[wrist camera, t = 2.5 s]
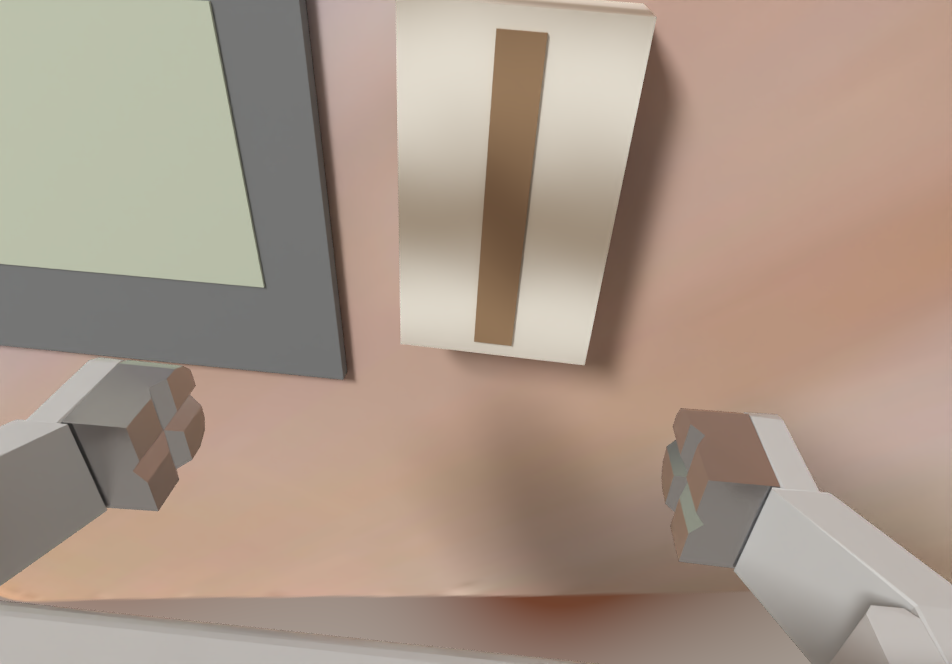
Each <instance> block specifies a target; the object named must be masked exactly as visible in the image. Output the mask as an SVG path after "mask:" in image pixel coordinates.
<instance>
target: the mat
mask: <svg viewBox="0 0 952 664" xmlns="http://www.w3.org/2000/svg"><path fill="white" fill-rule="evenodd" d="M0 345H3V346H13V347H23V348H33V349H43V350H53V351H63V352H73V353H83V354H93V355H103V356H113V357H123V358H133V359H142V360H152V361H162V362H172V363H182V364H192V365H202V366H212V367H222V368H232V369H242V370H252V371H262V372H272V373H282V374H291V375H301V376H311V377H321V378H331V379H341V380H344V378H345V375H346V373H347V366H346V357H345V348H344V339H343V331H342V322H341V313H340V304H339V295H338V286H337V277H336V268H335V259H334V250H333V241H332V232H331V223H330V214H329V205H328V196H327V187H326V178H325V169H324V161H323V152H322V143H321V134H320V125H319V116H318V107H317V98H316V89H315V80H314V71H313V62H312V53H311V44H310V35H309V26H308V17H307V8H306V0H0Z"/></svg>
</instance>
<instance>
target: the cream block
mask: <svg viewBox="0 0 952 664" xmlns="http://www.w3.org/2000/svg"><path fill="white" fill-rule="evenodd" d="M656 18H657V17H656V16H655V15H654V14H653V13H652V12H651V11H650V10H649V9H648V8H647V7H646V6H645V5H644V4H642V3H629V2H617V1H604V0H396V64H397V132H398V200H399V268H400V335H401V344H406V345H415V346H423V347H432V348H440V349H449V350H458V351H466V352H475V353H483V354H492V355H500V356H509V357H517V358H526V359H535V360H543V361H552V362H560V363H569V364H577V365H585V361H586V356H587V351H588V347H589V342H590V337H591V332H592V327H593V322H594V318H595V313H596V308H597V303H598V298H599V293H600V289H601V284H602V279H603V274H604V269H605V264H606V260H607V255H608V250H609V245H610V240H611V235H612V231H613V226H614V221H615V216H616V211H617V206H618V202H619V197H620V192H621V187H622V182H623V177H624V173H625V168H626V163H627V158H628V153H629V148H630V144H631V139H632V134H633V129H634V124H635V119H636V115H637V110H638V105H639V100H640V95H641V90H642V86H643V81H644V76H645V71H646V66H647V61H648V57H649V52H650V47H651V42H652V37H653V32H654V28H655V23H656Z"/></svg>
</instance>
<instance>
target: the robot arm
mask: <svg viewBox="0 0 952 664" xmlns="http://www.w3.org/2000/svg"><path fill="white" fill-rule="evenodd" d="M195 386H196V385H195V382H194V379H193V376H192V373H191V370H190V369H188V368H186V367H184V366H179V365H170V364H161V363H151V362H142V361H133V360H119V359H109V358H100V357H99V358H96V359H92V360H89V361H88V362H87V363H86V364H85V365H83V366H82V367H81V368H80V369H79V370H78V371H77V372H76V373H75V374H74V375H73V376H72V377H71V378H70V379H69V380H68V381H67V382H66V383H65V384H63V385H62V386H61V387H60V388H59V389H58V390H57V391H56V392H55V393H54V394H53V395H52V396H51V397H50V398H49V399H48V400H47V401H46V402H44V403H43V404H42V405H41V406H40V407H39V408H38V409H37V410H36V411H35V412H34V413H33V414H32V415H31V416H30V417H29V418H28V419H27V420H14V421H12V422H9V423H7V424H5V425H2V426H0V586H1V585H2V584H4V583H5V582H7V581H8V580H9V579H11V578H12V577H14V576H15V575H16V574H18V573H19V572H21V571H22V570H24V569H25V568H26V567H28V566H29V565H31V564H32V563H33V562H35V561H36V560H38V559H39V558H40V557H42V556H43V555H45V554H46V553H48V552H49V551H50V550H52V549H53V548H55V547H56V546H57V545H59V544H60V543H62V542H63V541H64V540H66V539H67V538H69V537H70V536H72V535H73V534H74V533H76V532H77V531H79V530H80V529H81V528H83V527H84V526H86V525H87V524H88V523H90V522H91V521H93V520H94V519H96V518H97V517H98V516H100V515H101V514H103V513H104V512H105V511H107V508H120V509H134V510H149V511H159V510H160V508H161V506H162V505H163V503H164V502H165V500H166V499H167V497H168V496H169V494H170V493H171V491H172V490H173V488H174V487H175V485H176V484H177V482H178V481H179V477H178V472H177V468H179V467H181V466H182V465H184V464H186V463H187V462H189V461H191V460H192V459H193V458H194V456H195V454H196V453H197V451H198V449H199V448H200V446H201V442H202V439H203V435H204V431H205V417H204V413H203V409H202V406H201V405H200V404H199V403H198V402H197V401H196V400H195V399H194V398H193V397H192V396H191V395H190V394H191V392H192V391H193V389H194V388H195ZM673 429H674V433H675V437H676V440H675V441H674V442H672V443H671V444H670V445H668V446H667V447H666V451H665V455H664V459H663V466H662V489H663V495H664V499H665V503H666V504H667V505H668V506H669V507H670V508H671V509H672V510H673V511H674V512H675V513H674V516H673V519H672V522H671V525H670V527H671V531H672V535H673V540H674V544H675V548H676V553H677V557H678V561H679V562H687V563H695V564H703V565H711V566H719V567H727V568H735V569H734V572H735V573H736V574H737V575H738V577H739V578H740V579H741V580H742V581H743V583H744V584H745V585H746V586H747V587H748V589H749V590H750V591H751V592H752V593H753V594H754V596H755V597H756V598H757V599H758V600H759V601H760V603H761V604H762V605H763V606H764V607H765V609H766V610H767V611H768V612H769V613H770V615H771V616H772V617H773V618H774V619H775V621H776V622H777V623H778V624H779V625H780V626H781V628H782V629H783V630H784V631H785V632H786V634H787V635H788V636H789V637H790V638H791V640H792V641H793V642H794V643H795V644H796V646H797V647H798V648H799V649H800V650H801V651H802V653H803V654H804V655H805V656H806V657H807V659H808V660H809V661H810V662H811V663H812V664H952V584H951V583H949V582H948V581H947V580H945V579H944V578H943V577H941V576H940V575H939V574H937V573H936V572H935V571H933V570H932V569H931V568H929V567H928V566H927V565H925V564H924V563H923V562H921V561H920V560H919V559H917V558H916V557H915V556H913V555H912V554H911V553H909V552H908V551H907V550H905V549H904V548H903V547H901V546H900V545H899V544H897V543H896V542H895V541H893V540H892V539H891V538H889V537H888V536H887V535H885V534H884V533H883V532H881V531H880V530H879V529H877V528H876V527H875V526H873V525H872V524H871V523H869V522H868V521H867V520H865V519H864V518H863V517H861V516H860V515H859V514H857V513H856V512H855V511H853V510H852V509H851V508H849V507H848V506H847V505H845V504H844V503H843V502H841V501H840V500H839V499H837V498H836V497H835V496H833V495H832V494H831V493H826V492H820V491H819V489H818V487H817V485H816V483H815V481H814V479H813V477H812V476H811V474H810V472H809V470H808V468H807V466H806V464H805V462H804V460H803V458H802V456H801V454H800V452H799V450H798V448H797V446H796V444H795V442H794V440H793V439H792V437H791V435H790V433H789V431H788V429H787V427H786V425H785V423H784V421H783V419H782V418H781V417H779V416H778V415H777V414H763V413H747V412H745V413H737V412H724V411H711V410H698V409H686V408H681V409H680V410H679V412H678V413H677V415H676V418H675V421H674V424H673ZM0 664H599V663H588V662H578V661H569V660H560V659H551V658H541V657H531V656H522V655H512V654H502V653H493V652H483V651H473V650H464V649H454V648H445V647H434V646H425V645H416V644H407V643H397V642H388V641H378V640H369V639H359V638H349V637H341V636H332V635H331V636H330V635H322V634H313V633H304V632H294V631H284V630H275V629H266V628H256V627H247V626H238V625H229V624H219V623H210V622H200V621H191V620H181V619H171V618H163V617H153V616H144V615H134V614H124V613H115V612H105V611H96V610H87V609H77V608H68V607H57V606H49V605H39V604H30V603H21V602H11V601H1V600H0Z"/></svg>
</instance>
